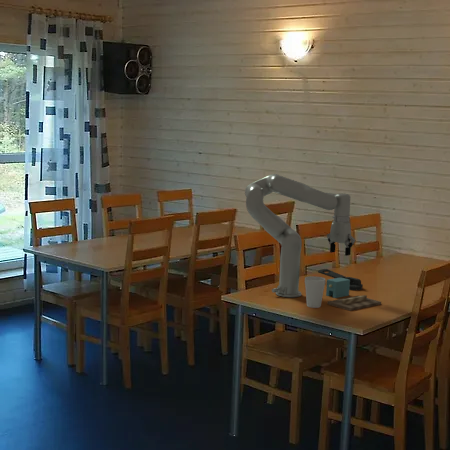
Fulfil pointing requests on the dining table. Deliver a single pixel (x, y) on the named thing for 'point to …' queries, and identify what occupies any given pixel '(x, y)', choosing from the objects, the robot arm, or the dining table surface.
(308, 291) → the foam cup
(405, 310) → the dining table surface
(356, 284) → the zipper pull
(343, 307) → the board
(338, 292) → the cabinet
